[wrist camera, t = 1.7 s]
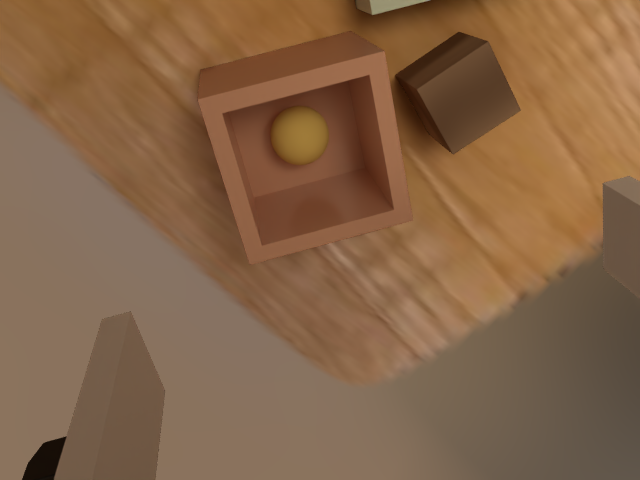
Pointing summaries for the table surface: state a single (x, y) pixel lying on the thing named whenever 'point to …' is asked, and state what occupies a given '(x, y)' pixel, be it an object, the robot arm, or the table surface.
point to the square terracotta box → (330, 168)
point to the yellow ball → (299, 135)
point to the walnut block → (459, 91)
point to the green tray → (383, 5)
